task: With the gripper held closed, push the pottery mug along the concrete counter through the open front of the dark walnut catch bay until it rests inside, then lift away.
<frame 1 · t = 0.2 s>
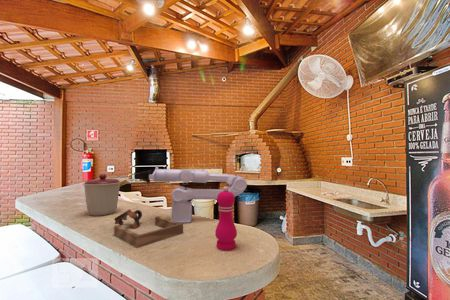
hand: (137, 174, 107), 22 cm above the table, tool horizontal, fingers open, 7 cm apart
catch bay: (149, 234, 89), on the table
pepper mill: (226, 247, 77), on the table
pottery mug: (129, 226, 100), on the table
canister: (102, 213, 122), on the table
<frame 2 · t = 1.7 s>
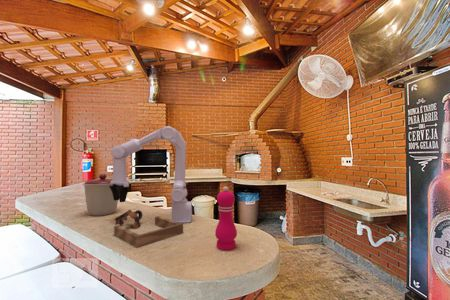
hand: (119, 201, 107), 9 cm above the table, tool pointing down, fingers open, 6 cm apart
nothing on the table moved.
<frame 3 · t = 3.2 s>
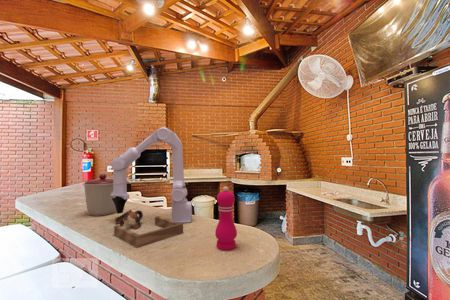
hand: (119, 213, 107), 4 cm above the table, tool pointing down, fingers closed
nothing on the table moved.
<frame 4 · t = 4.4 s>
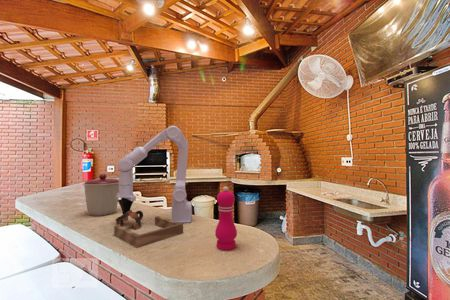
hand: (125, 215, 103), 4 cm above the table, tool pointing down, fingers closed
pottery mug: (131, 227, 99), on the table, touching gripper
everything else where it was.
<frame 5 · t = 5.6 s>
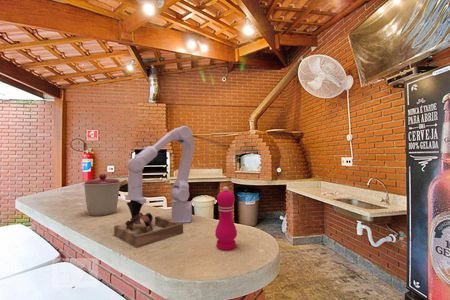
hand: (135, 218, 97), 4 cm above the table, tool pointing down, fingers closed
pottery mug: (141, 231, 93), on the table, touching gripper
everything else where it was.
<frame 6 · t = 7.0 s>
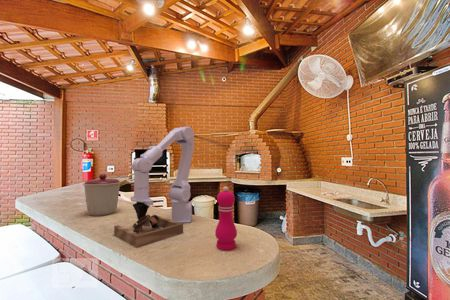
hand: (141, 221, 93), 4 cm above the table, tool pointing down, fingers closed
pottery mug: (149, 233, 90), on the table, touching gripper
everything else where it was.
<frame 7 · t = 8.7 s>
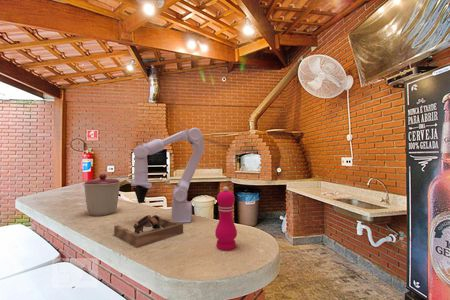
hand: (141, 202, 103), 9 cm above the table, tool pointing down, fingers closed
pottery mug: (149, 234, 90), on the table
everything else where it was.
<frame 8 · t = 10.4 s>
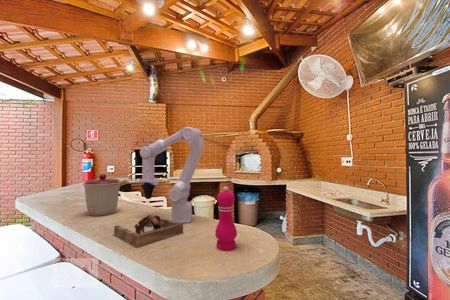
hand: (148, 198, 113), 9 cm above the table, tool pointing down, fingers closed
nothing on the table moved.
at the end: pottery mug 0.8 cm from the catch bay (horizontally); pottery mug tilted 0°; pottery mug moved 16.0 cm from its start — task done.
